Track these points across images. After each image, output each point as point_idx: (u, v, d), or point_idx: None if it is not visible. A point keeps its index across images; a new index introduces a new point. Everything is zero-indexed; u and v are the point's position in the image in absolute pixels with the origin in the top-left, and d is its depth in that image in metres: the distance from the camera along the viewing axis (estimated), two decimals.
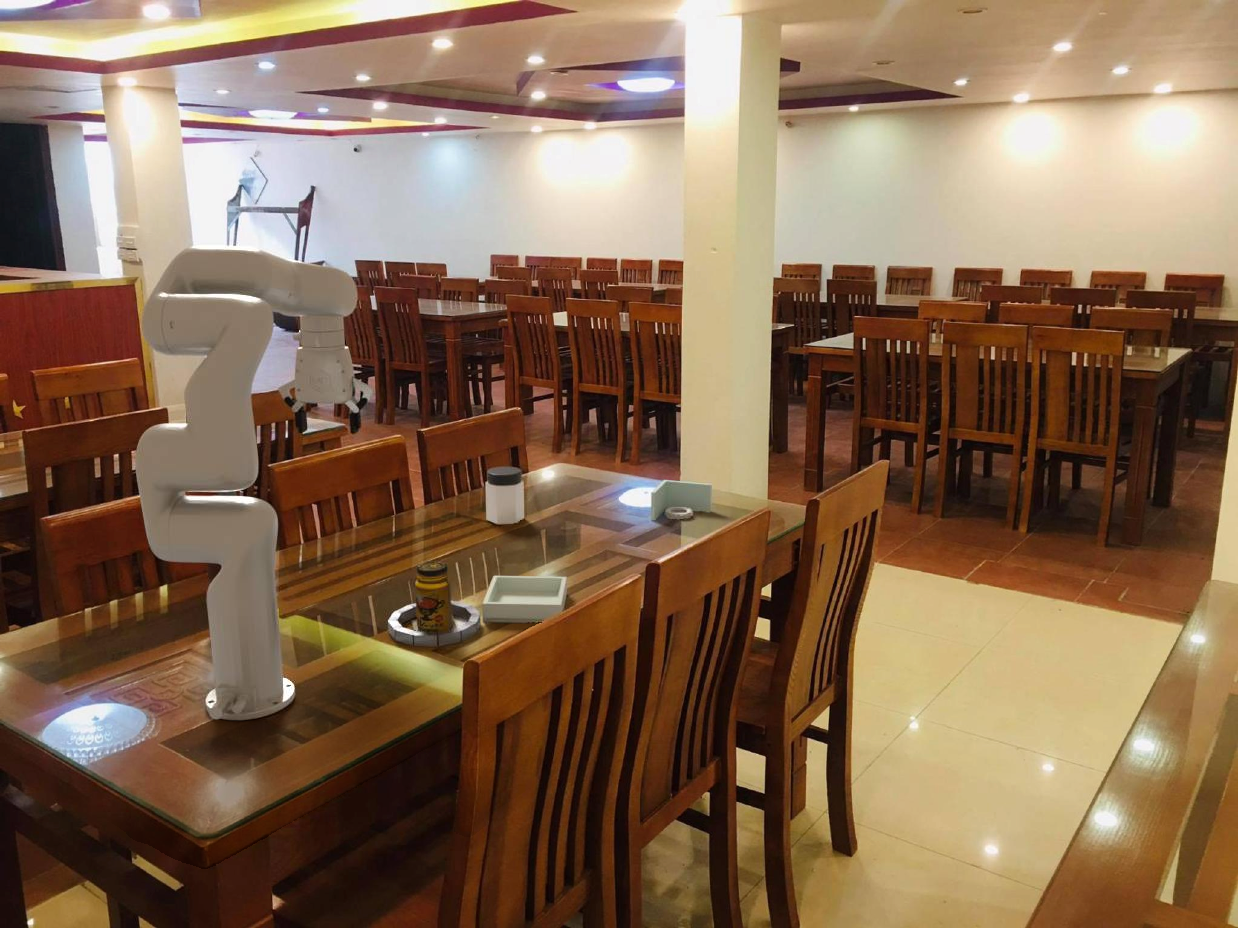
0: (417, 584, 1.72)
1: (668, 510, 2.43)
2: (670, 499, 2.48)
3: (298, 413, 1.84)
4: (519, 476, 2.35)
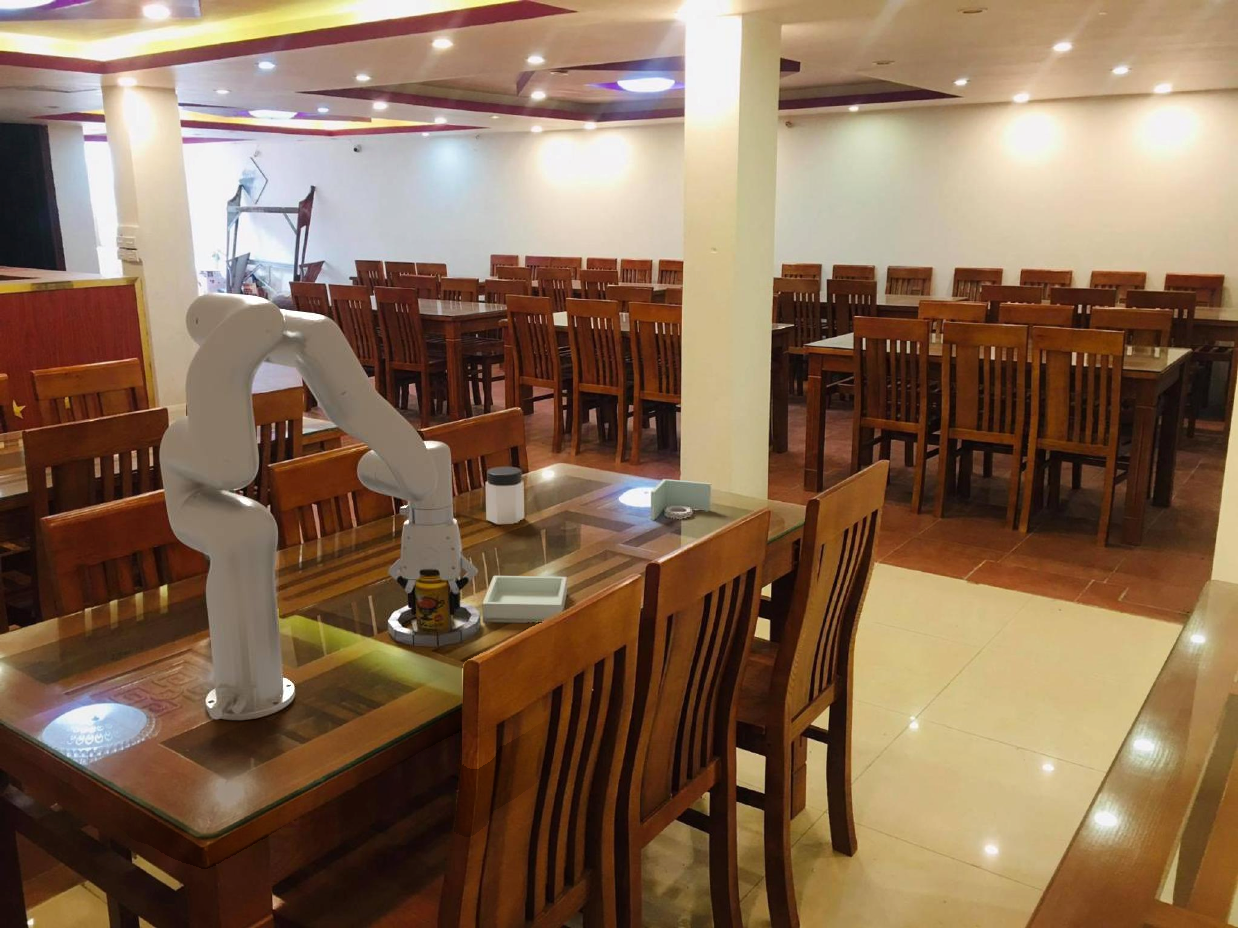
0: (416, 584, 1.72)
1: (668, 509, 2.43)
2: (669, 498, 2.49)
3: (412, 594, 1.74)
4: (519, 476, 2.35)
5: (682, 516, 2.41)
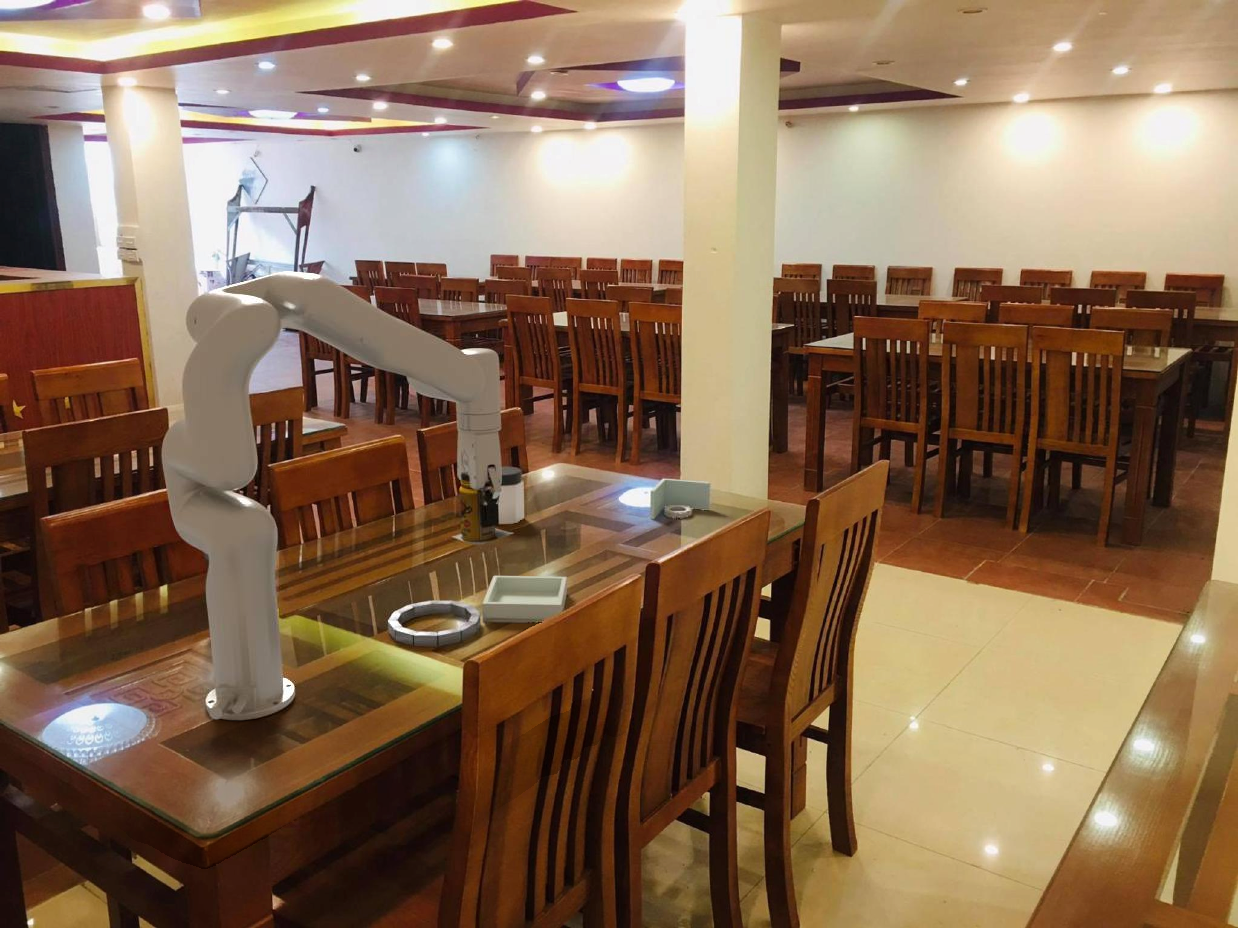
0: None
1: (667, 508, 2.44)
2: (669, 497, 2.49)
3: None
4: (519, 476, 2.35)
5: (682, 515, 2.41)
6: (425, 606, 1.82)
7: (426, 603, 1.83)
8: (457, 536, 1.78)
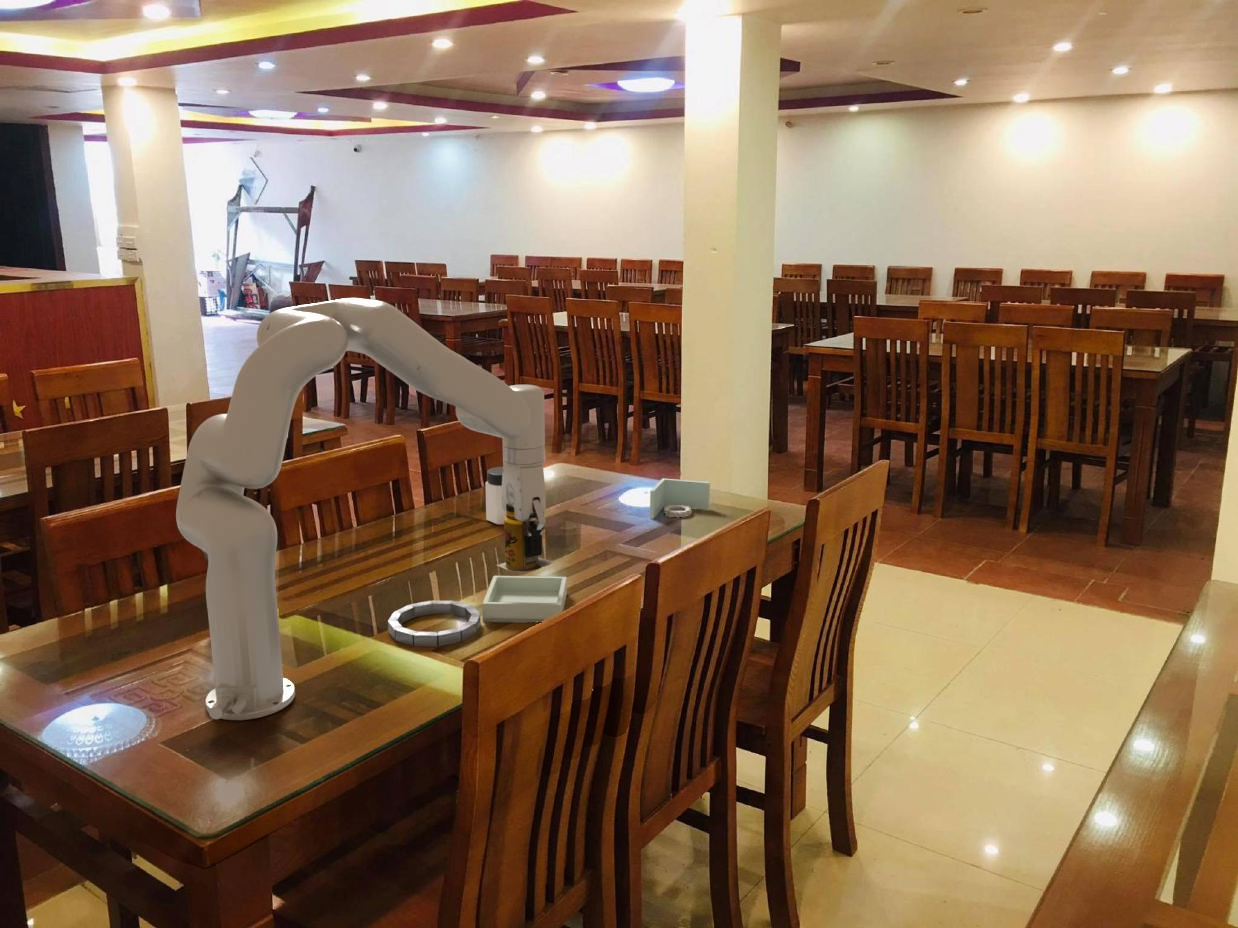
0: None
1: (667, 508, 2.44)
2: (668, 497, 2.50)
3: None
4: None
5: (681, 515, 2.42)
6: (425, 606, 1.82)
7: (426, 603, 1.83)
8: (501, 565, 1.84)
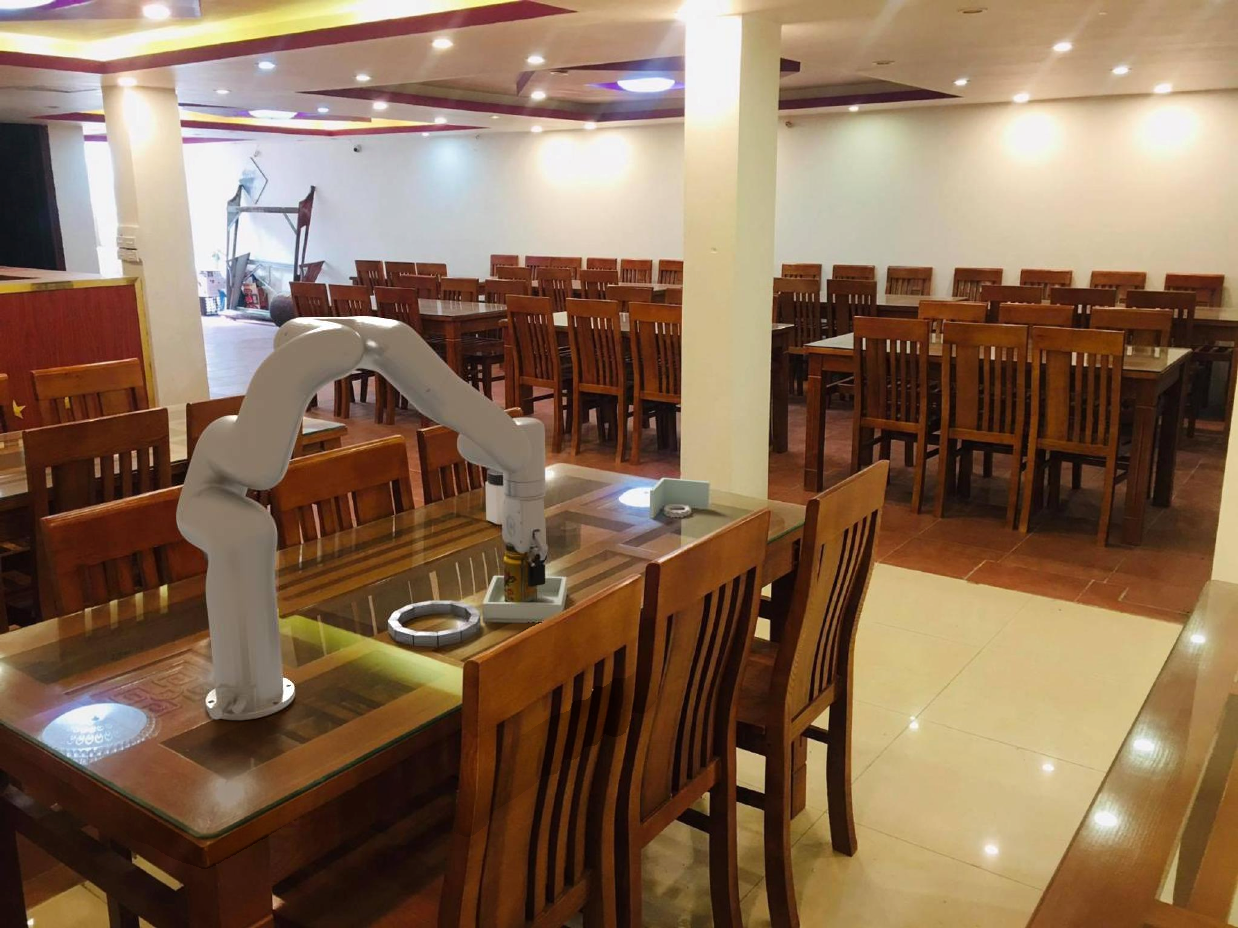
0: None
1: (666, 508, 2.44)
2: (668, 496, 2.50)
3: None
4: None
5: (681, 514, 2.42)
6: (425, 606, 1.82)
7: (426, 603, 1.83)
8: None
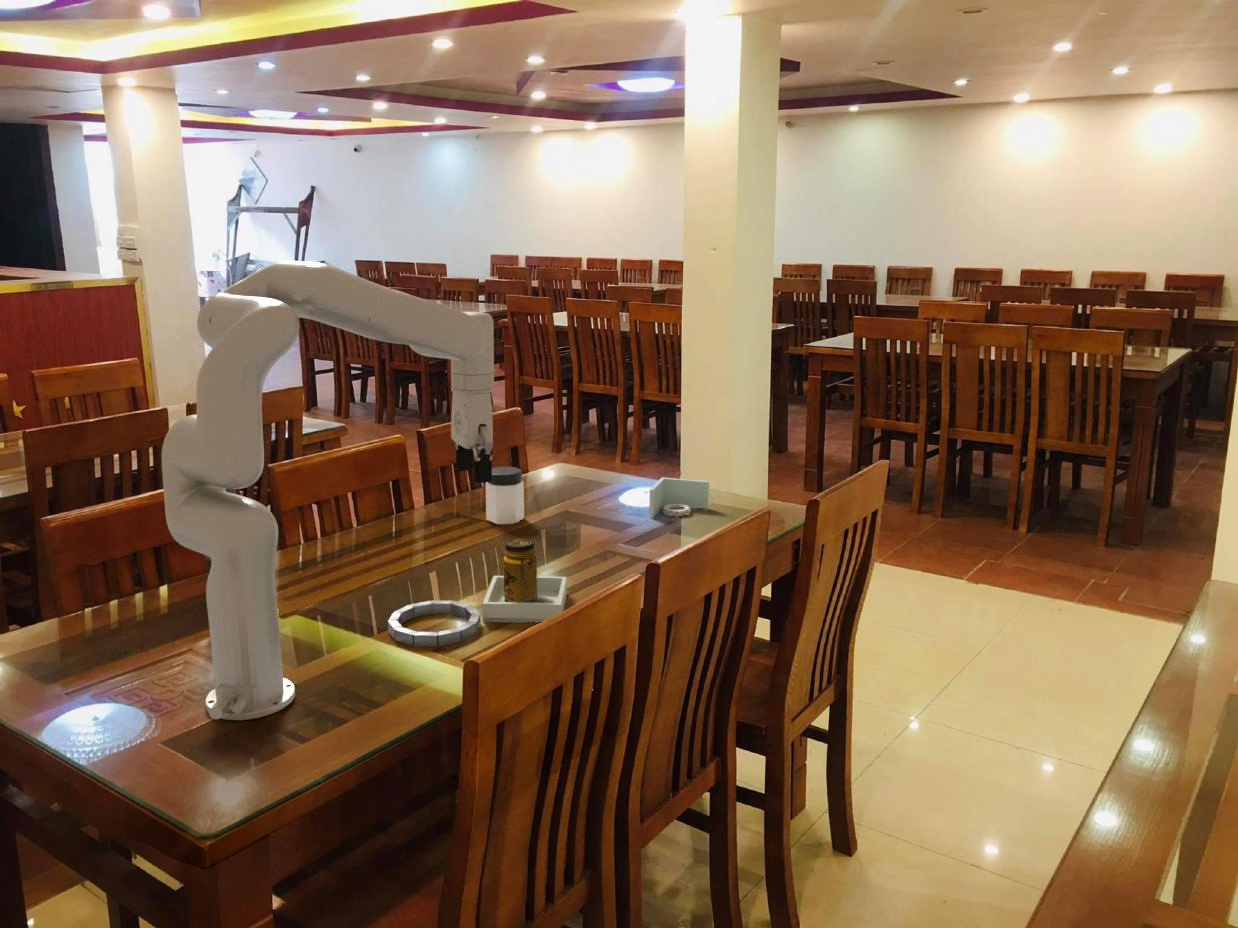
0: None
1: (666, 507, 2.45)
2: (667, 496, 2.51)
3: (456, 450, 1.85)
4: (519, 476, 2.35)
5: (680, 514, 2.42)
6: (425, 606, 1.82)
7: (426, 603, 1.83)
8: None
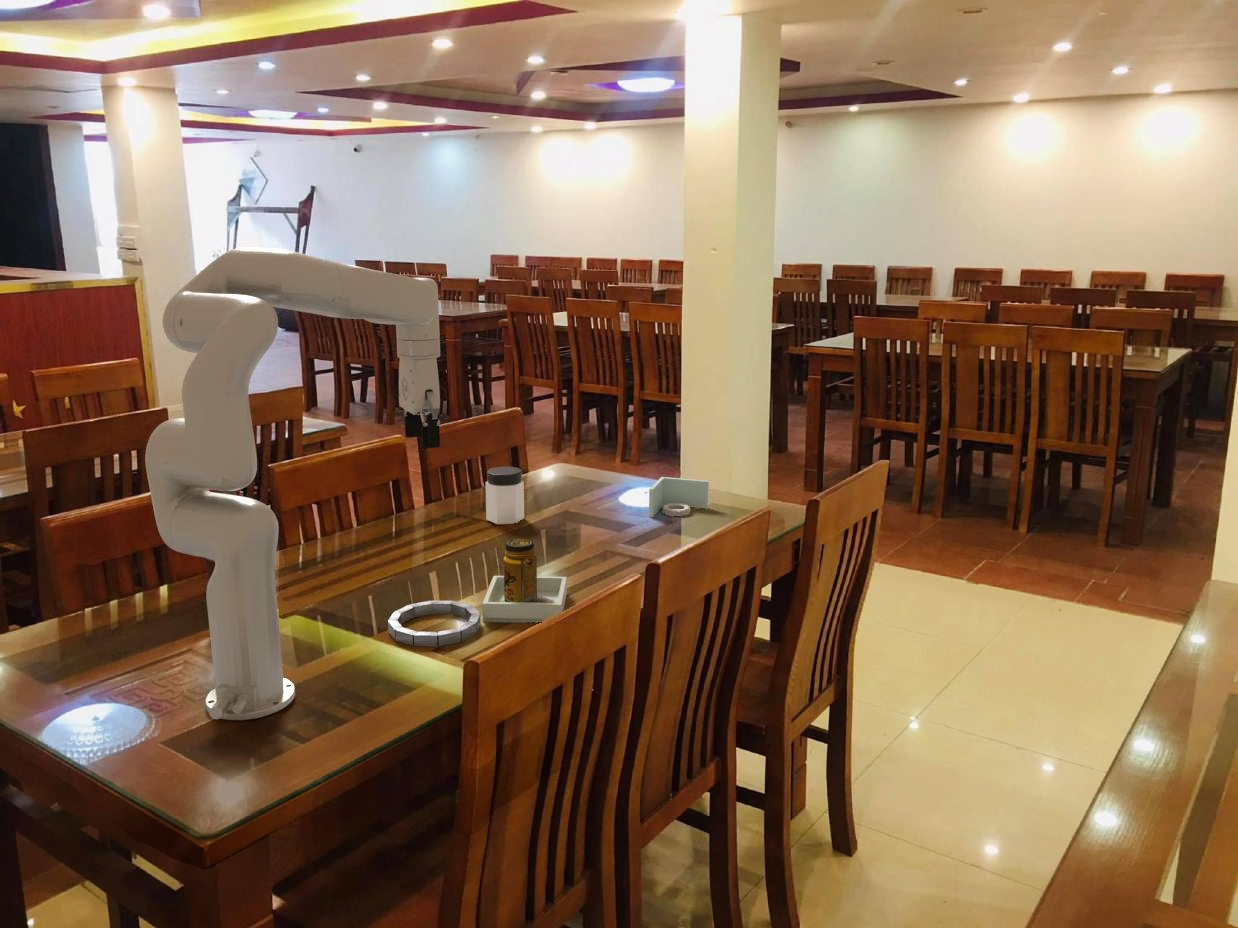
0: None
1: (666, 507, 2.45)
2: (667, 495, 2.51)
3: (404, 417, 1.86)
4: (519, 476, 2.35)
5: (680, 513, 2.43)
6: (425, 606, 1.82)
7: (426, 603, 1.83)
8: None
